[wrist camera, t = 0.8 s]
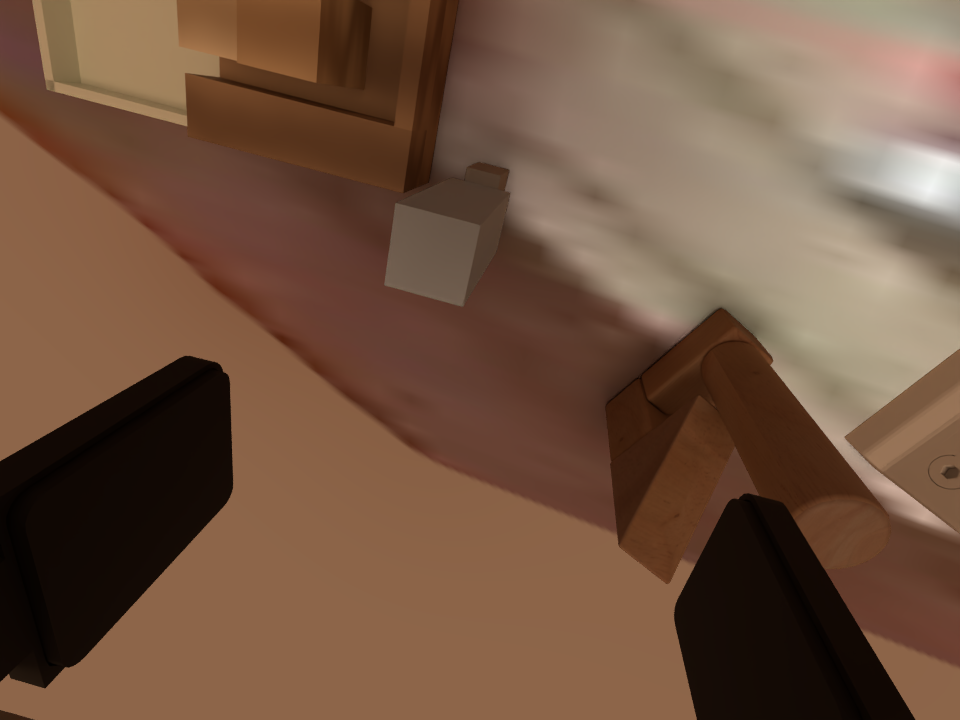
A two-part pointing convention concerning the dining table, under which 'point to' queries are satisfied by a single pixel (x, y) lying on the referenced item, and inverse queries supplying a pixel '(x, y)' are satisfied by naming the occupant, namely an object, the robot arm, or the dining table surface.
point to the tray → (119, 54)
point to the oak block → (306, 39)
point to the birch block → (208, 26)
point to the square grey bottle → (448, 235)
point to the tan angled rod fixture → (728, 453)
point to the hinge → (920, 441)
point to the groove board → (341, 103)
